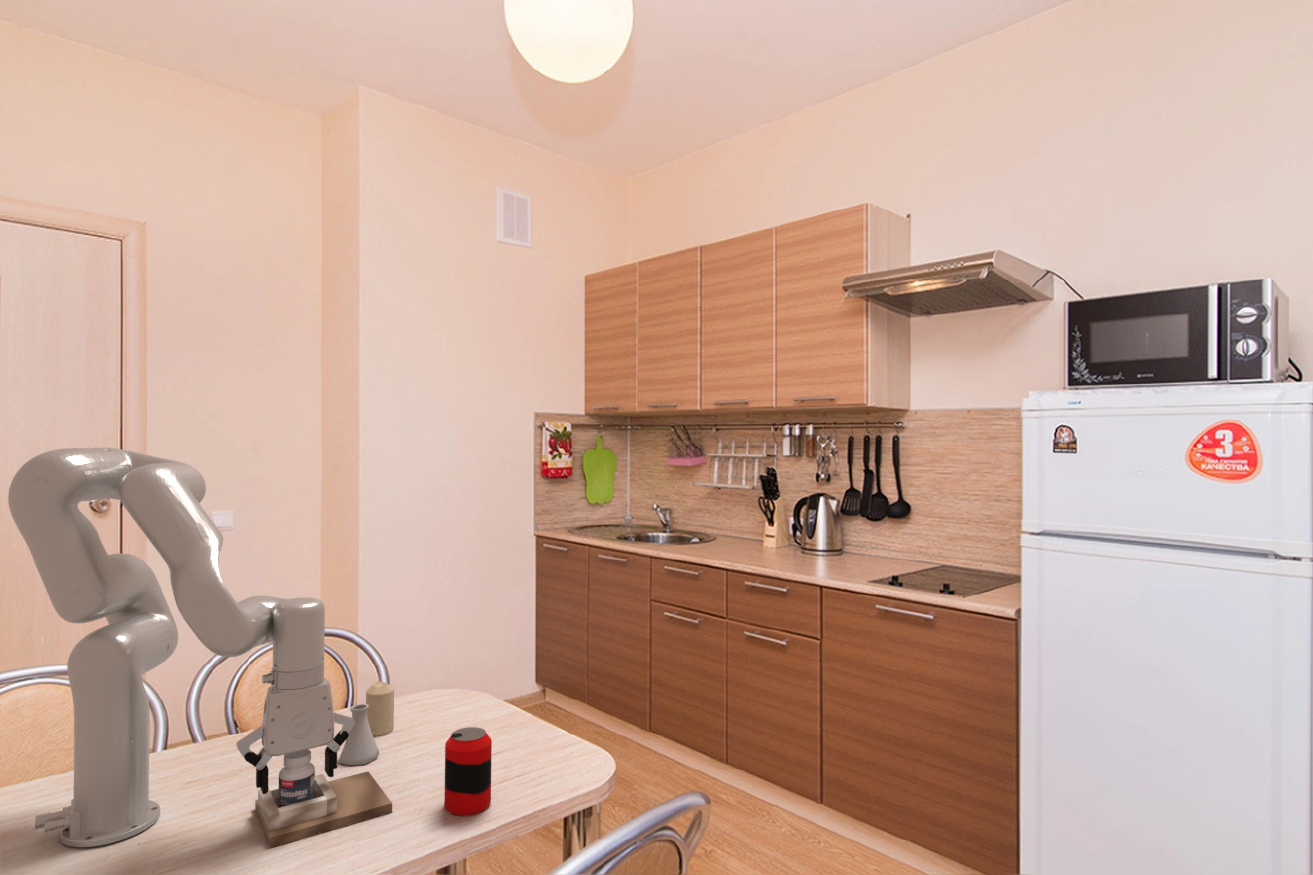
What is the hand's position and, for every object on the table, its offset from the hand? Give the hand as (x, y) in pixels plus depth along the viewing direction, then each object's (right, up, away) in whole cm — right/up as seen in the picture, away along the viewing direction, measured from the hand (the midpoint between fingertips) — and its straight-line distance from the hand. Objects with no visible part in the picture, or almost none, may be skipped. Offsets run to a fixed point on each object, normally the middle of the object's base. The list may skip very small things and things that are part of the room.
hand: (297, 782), depth 118 cm
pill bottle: (0, -4, 0) cm, 4 cm away
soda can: (+26, -6, +5) cm, 27 cm away
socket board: (+3, -6, +2) cm, 7 cm away
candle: (0, -6, +35) cm, 36 cm away
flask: (+1, -6, +22) cm, 23 cm away
